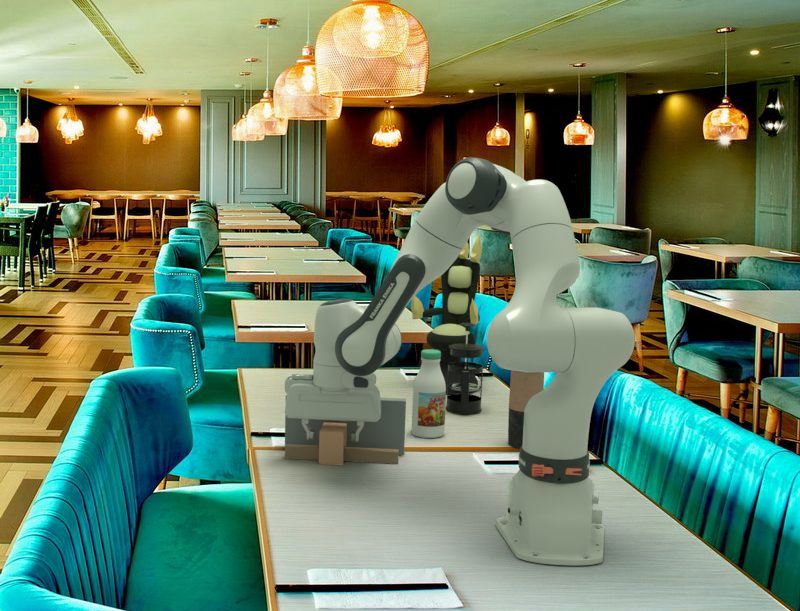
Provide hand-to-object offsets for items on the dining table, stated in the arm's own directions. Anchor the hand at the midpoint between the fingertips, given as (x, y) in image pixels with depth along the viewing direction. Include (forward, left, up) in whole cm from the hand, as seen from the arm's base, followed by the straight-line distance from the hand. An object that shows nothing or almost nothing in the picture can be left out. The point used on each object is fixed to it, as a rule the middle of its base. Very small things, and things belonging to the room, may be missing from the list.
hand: (332, 439), depth 192 cm
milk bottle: (+22, -20, -4) cm, 30 cm away
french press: (+45, -29, -4) cm, 54 cm away
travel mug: (+17, -42, -4) cm, 46 cm away
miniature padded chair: (+72, -25, -4) cm, 76 cm away
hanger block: (0, 0, -4) cm, 4 cm away
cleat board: (+3, -2, -4) cm, 6 cm away
